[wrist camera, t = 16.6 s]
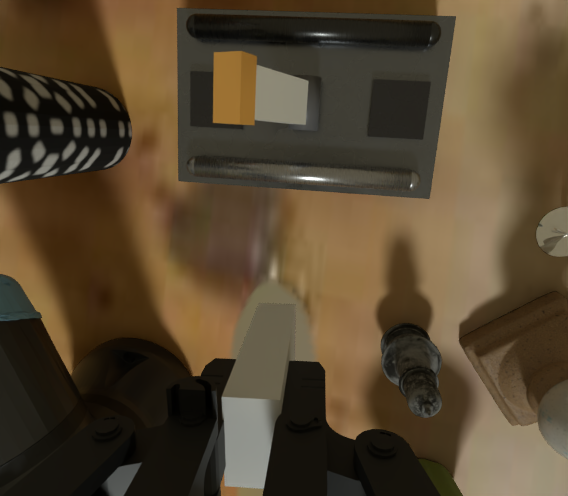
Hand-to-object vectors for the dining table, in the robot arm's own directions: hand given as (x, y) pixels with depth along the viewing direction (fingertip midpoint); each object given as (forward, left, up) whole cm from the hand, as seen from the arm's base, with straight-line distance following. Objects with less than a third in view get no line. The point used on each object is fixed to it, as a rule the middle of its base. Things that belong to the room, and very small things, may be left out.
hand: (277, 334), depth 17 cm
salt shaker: (0, -17, -28) cm, 33 cm away
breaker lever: (+6, +8, -21) cm, 23 cm away
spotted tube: (-13, +21, -28) cm, 37 cm away
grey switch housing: (+6, +9, -27) cm, 29 cm away
